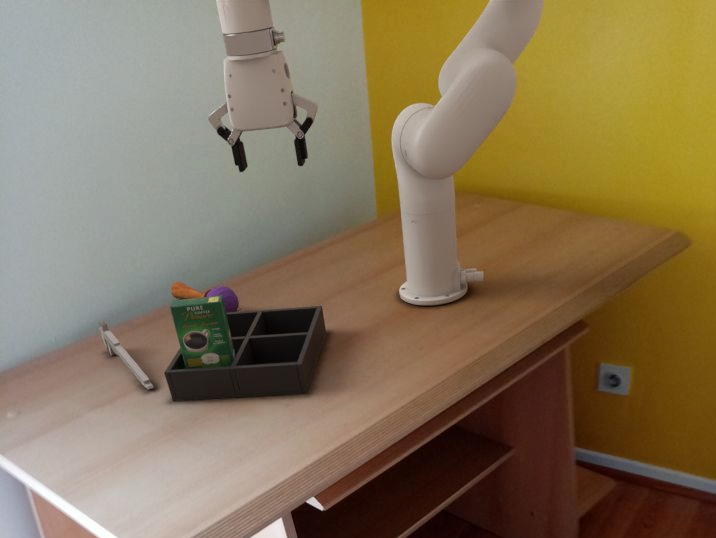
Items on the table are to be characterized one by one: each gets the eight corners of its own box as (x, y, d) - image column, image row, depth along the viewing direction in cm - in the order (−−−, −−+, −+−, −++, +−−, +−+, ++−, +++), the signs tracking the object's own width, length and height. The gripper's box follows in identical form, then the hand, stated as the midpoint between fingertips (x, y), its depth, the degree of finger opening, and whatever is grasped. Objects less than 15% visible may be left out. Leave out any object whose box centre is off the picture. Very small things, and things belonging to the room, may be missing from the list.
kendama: (189, 272, 153) (242, 286, 139) (193, 302, 156) (246, 318, 142) (162, 277, 150) (214, 291, 136) (166, 307, 152) (218, 324, 139)
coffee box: (241, 370, 123) (222, 292, 115) (239, 378, 121) (220, 299, 113) (192, 376, 123) (170, 299, 115) (189, 384, 121) (167, 306, 113)
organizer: (326, 332, 133) (321, 305, 130) (307, 393, 116) (301, 364, 113) (208, 340, 135) (201, 314, 132) (172, 401, 119) (163, 372, 116)
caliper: (107, 352, 136) (95, 319, 132) (112, 350, 137) (101, 317, 133) (148, 391, 122) (137, 356, 118) (155, 389, 123) (143, 353, 119)
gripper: (311, 34, 114) (328, 156, 124) (201, 48, 116) (226, 166, 127) (303, 41, 108) (322, 168, 118) (187, 55, 111) (215, 178, 121)
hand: (272, 167), depth 123 cm, fingers open, 9 cm apart
